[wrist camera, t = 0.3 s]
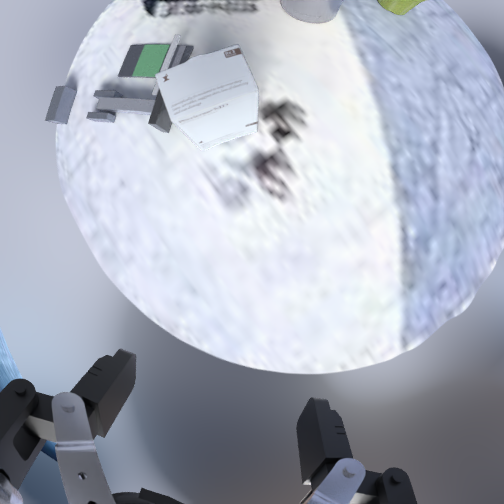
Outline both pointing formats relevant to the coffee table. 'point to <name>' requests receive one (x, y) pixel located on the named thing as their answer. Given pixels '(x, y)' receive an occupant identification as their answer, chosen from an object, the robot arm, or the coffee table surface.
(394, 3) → the plant pot
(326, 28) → the coffee table surface
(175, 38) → the grey l-shaped bracket
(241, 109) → the skincare box
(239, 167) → the coffee table surface
